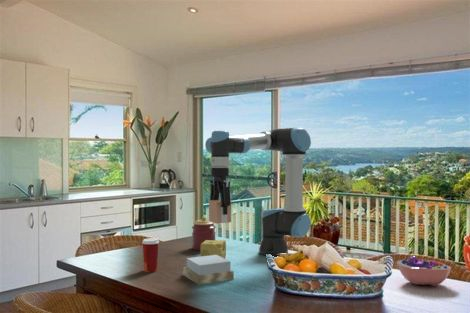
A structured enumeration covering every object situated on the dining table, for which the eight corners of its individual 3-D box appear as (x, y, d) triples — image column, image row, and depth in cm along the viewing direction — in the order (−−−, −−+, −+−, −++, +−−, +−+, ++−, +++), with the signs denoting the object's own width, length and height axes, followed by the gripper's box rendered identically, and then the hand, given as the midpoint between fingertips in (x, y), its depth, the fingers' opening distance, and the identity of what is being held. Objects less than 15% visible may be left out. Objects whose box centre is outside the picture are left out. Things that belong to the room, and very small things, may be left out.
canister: (215, 251, 243) (214, 218, 243) (190, 251, 243) (190, 218, 243) (216, 246, 256) (216, 214, 256) (193, 246, 256) (193, 214, 256)
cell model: (448, 294, 169) (448, 264, 169) (392, 286, 180) (392, 257, 179) (453, 283, 183) (453, 255, 183) (401, 276, 194) (401, 249, 194)
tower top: (216, 263, 203) (216, 254, 203) (230, 271, 190) (230, 261, 190) (186, 267, 196) (186, 258, 196) (199, 275, 184) (199, 265, 184)
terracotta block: (223, 220, 199) (223, 199, 199) (231, 222, 193) (231, 200, 193) (209, 221, 195) (209, 200, 195) (216, 223, 189) (216, 201, 189)
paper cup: (162, 269, 206) (162, 238, 206) (152, 273, 199) (152, 241, 199) (148, 267, 209) (148, 237, 209) (138, 271, 202) (138, 240, 202)
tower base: (216, 271, 204) (216, 262, 204) (233, 280, 190) (233, 271, 190) (183, 276, 197) (183, 267, 197) (198, 286, 183) (198, 276, 183)
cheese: (221, 265, 213) (221, 244, 213) (199, 264, 215) (199, 243, 215) (226, 260, 223) (226, 240, 223) (205, 259, 225) (205, 239, 225)
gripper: (201, 166, 201) (201, 218, 201) (223, 167, 183) (223, 225, 183) (217, 166, 204) (216, 217, 204) (239, 167, 187) (239, 223, 187)
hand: (219, 221), depth 194 cm, fingers closed on terracotta block, 7 cm apart
